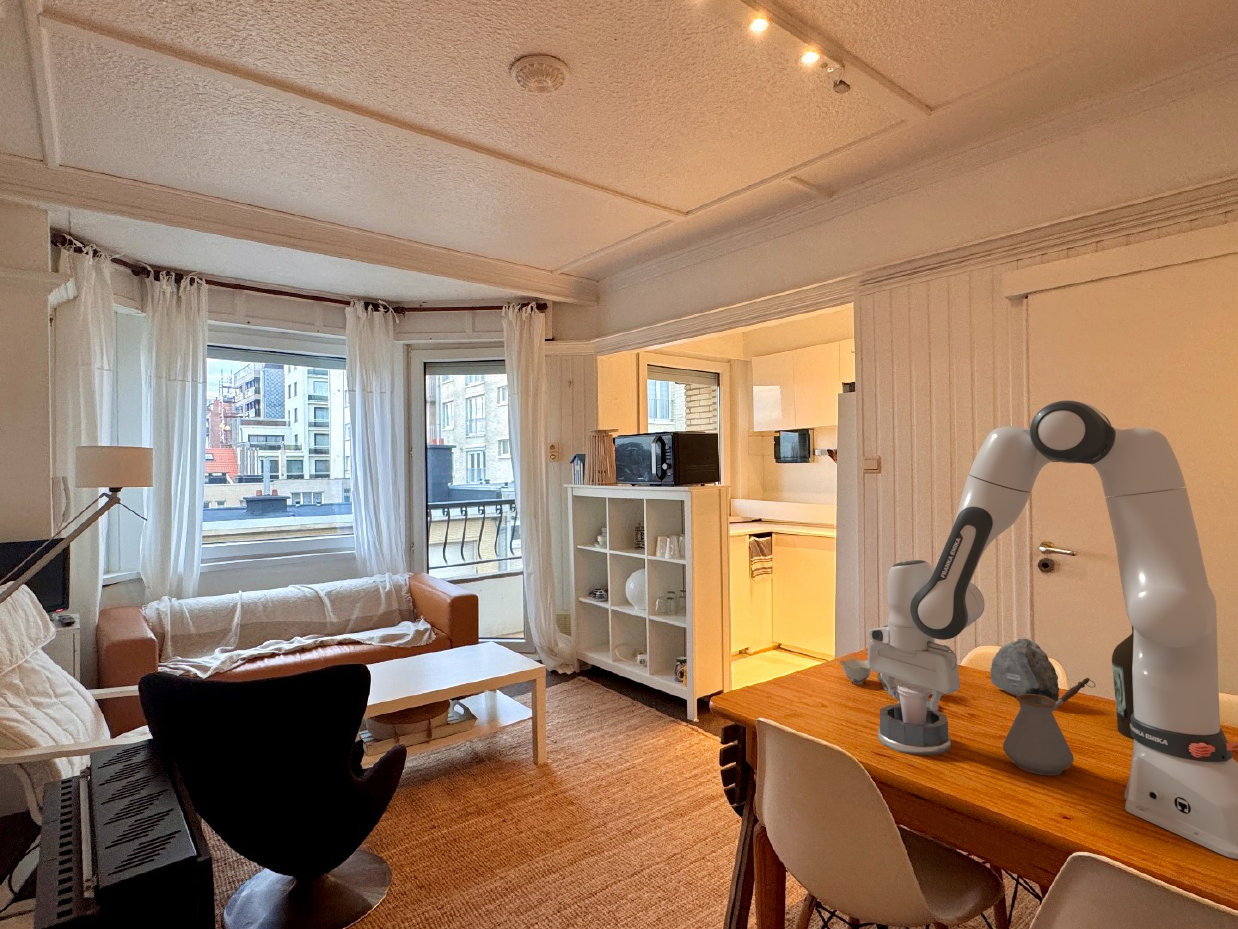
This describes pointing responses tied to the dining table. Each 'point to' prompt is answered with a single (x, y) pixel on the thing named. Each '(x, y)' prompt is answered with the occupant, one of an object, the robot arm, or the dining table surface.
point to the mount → (914, 732)
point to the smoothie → (913, 702)
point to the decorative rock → (1024, 670)
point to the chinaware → (864, 673)
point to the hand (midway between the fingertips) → (912, 702)
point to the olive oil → (1123, 684)
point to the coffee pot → (1040, 735)
